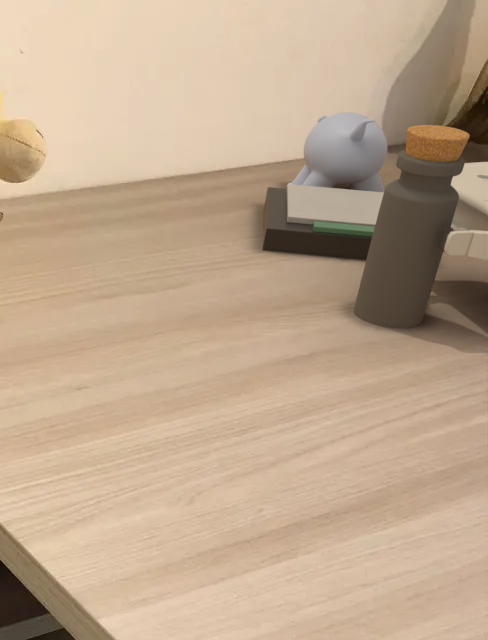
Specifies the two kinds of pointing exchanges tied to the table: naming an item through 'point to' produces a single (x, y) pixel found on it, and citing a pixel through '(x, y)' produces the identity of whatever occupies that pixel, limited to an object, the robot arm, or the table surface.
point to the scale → (320, 221)
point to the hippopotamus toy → (344, 153)
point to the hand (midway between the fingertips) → (416, 223)
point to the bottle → (411, 228)
